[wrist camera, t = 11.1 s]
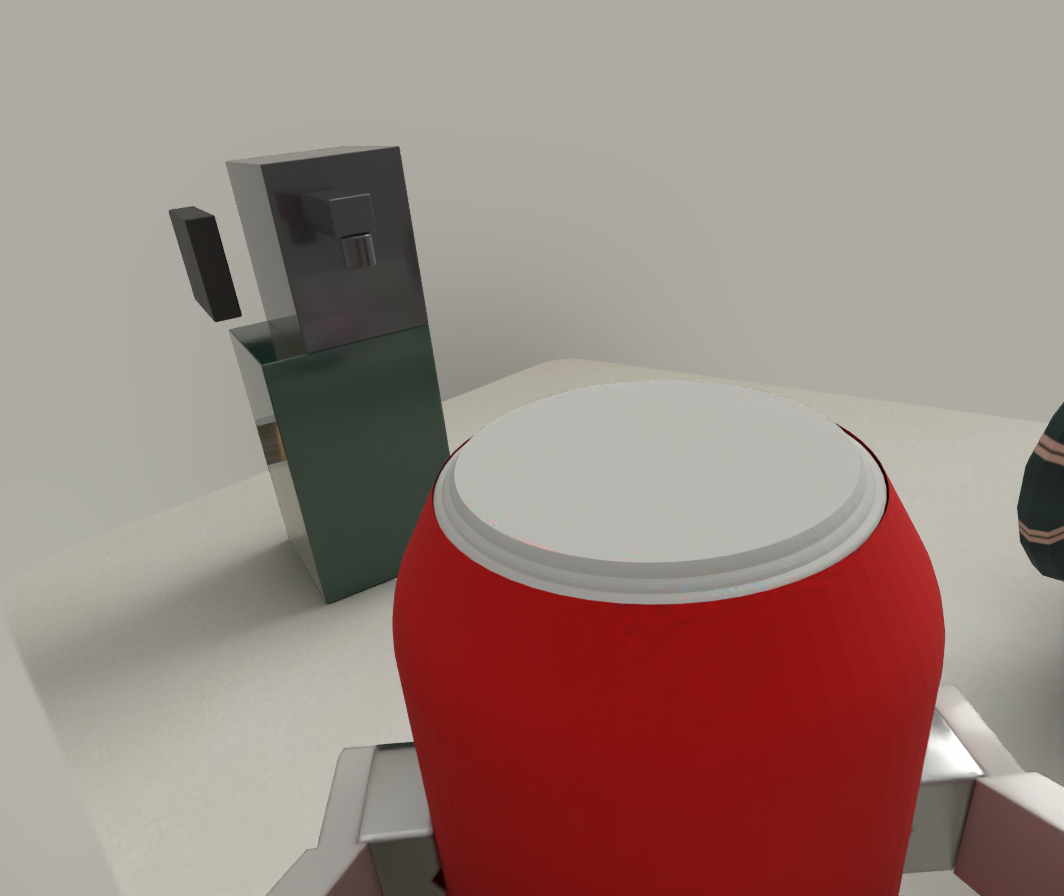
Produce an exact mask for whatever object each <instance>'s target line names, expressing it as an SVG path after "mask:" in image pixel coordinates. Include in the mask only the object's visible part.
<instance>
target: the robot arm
mask: <svg viewBox="0 0 1064 896" xmlns="http://www.w3.org/2000/svg"><path fill="white" fill-rule="evenodd" d="M943 870H954V874H956V875H957V876H958V877H959V878H960V879H962V880H963V881H964V882H965V883H966V884H967V885H969V886H970V887H971V888H972V889H973V890H975V891H976V892H977V893H978V894H979V895H981V896H1064V787H1063V786H1061V785H1059V784H1057V783H1055V782H1054V781H1052V780H1050V779H1048V778H1047V777H1045V776H1043V775H1041V774H1039V773H1038V772H1030V773H1026V772H1025V771H1024V770H1023V768H1022V767H1021V766H1020V765H1019V763H1018V762H1017V761H1016V760H1015V759H1014V757H1013V756H1012V755H1011V754H1010V752H1009V751H1008V750H1007V749H1006V747H1005V746H1004V745H1003V744H1002V742H1001V741H1000V740H999V739H998V738H997V736H996V735H995V734H994V733H993V731H992V730H991V729H990V728H989V726H988V725H987V724H986V723H985V721H984V720H983V719H982V718H981V717H980V715H979V714H978V713H977V712H976V710H975V709H974V708H973V707H972V705H971V704H970V703H969V702H968V700H967V699H966V698H965V697H964V696H963V694H962V693H961V692H960V691H959V689H957V688H956V687H954V686H952V685H951V684H950V685H941V686H939V689H938V695H937V700H936V705H935V710H934V715H933V720H932V725H931V730H930V736H929V741H928V746H927V751H926V756H925V761H924V766H923V771H922V777H921V782H920V787H919V792H918V797H917V802H916V807H915V812H914V818H913V823H912V828H911V833H910V838H909V843H908V848H907V853H906V858H905V864H904V869H903V874H904V873H917V872H930V871H943ZM265 896H448V893H447V889H446V884H445V880H444V876H443V871H442V867H441V861H440V857H439V852H438V848H437V843H436V839H435V834H434V830H433V825H432V821H431V817H430V812H429V808H428V803H427V799H426V794H425V789H424V785H423V780H422V776H421V771H420V767H419V762H418V758H417V753H416V749H415V744H414V742H406V743H393V744H381V745H375V746H363V747H351V748H344V749H343V750H342V752H341V754H340V755H339V757H338V761H337V765H336V769H335V773H334V777H333V782H332V786H331V790H330V794H329V798H328V803H327V807H326V811H325V815H324V820H323V824H322V828H321V832H320V836H319V841H318V845H317V848H314V849H306V851H305V852H304V853H303V854H302V855H301V856H300V857H299V858H298V860H297V861H296V862H295V863H294V864H293V865H292V866H291V867H290V869H289V870H288V871H287V872H286V873H285V874H284V875H283V876H282V878H281V879H280V880H279V881H278V882H277V883H276V884H275V885H274V886H273V888H272V889H271V890H270V891H269V892H268V893H267V894H266V895H265Z"/></svg>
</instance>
